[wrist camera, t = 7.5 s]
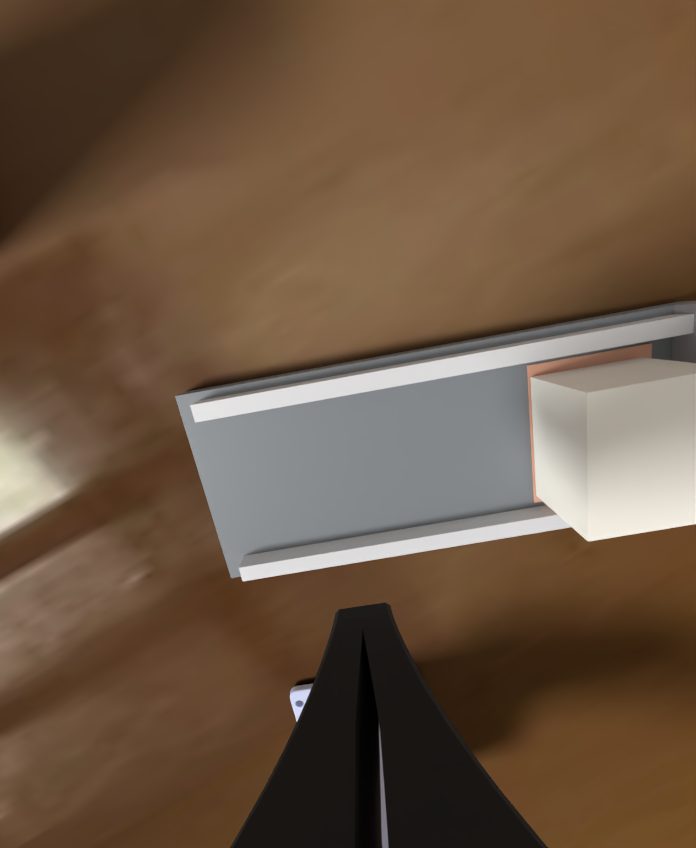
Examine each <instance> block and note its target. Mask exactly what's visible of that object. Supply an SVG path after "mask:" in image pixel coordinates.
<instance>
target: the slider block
mask: <svg viewBox="0 0 696 848" xmlns="http://www.w3.org/2000/svg"><path fill="white" fill-rule="evenodd" d="M530 380H531V400H532V421H533V441H534V461H535V482H536V496H537V497H538V498H539V499H541V500H542V501H543V502H544V503H545V504H546V505H547V506H548V507H550V508H551V509H552V510H553V511H554V512H555V513H556V514H557V515H559V516H560V517H561V518H562V519H563V520H564V521H565V522H567V523H568V524H569V525H570V526H571V527H572V528H573V529H574V530H576V531H577V532H578V533H579V534H580V535H581V536H582V537H584V538H585V539H586V540H587V541H594V540H600V539H606V538H613V537H619V536H625V535H631V534H637V533H643V532H649V531H655V530H662V529H668V528H674V527H680V526H686V525H692V524H696V363H690V362H681V361H671V360H662V359H653V358H644V357H640V358H634V359H629V360H623V361H617V362H612V363H606V364H601V365H595V366H589V367H584V368H578V369H573V370H567V371H562V372H556V373H550V374H545V375H539V376H534V377H530Z"/></svg>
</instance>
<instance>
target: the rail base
mask: <svg viewBox="0 0 696 848" xmlns="http://www.w3.org/2000/svg"><path fill="white" fill-rule="evenodd" d="M640 357H644V358H653V359H662V360H671V361H681V362H690V363H696V300H695V301H680V302H673V303H668V304H662V305H657V306H651V307H646V308H640V309H635V310H629V311H624V312H619V313H613V314H608V315H602V316H597V317H591V318H586V319H580V320H575V321H569V322H564V323H558V324H553V325H547V326H542V327H537V328H531V329H526V330H520V331H515V332H509V333H504V334H498V335H493V336H487V337H482V338H476V339H471V340H465V341H460V342H454V343H449V344H444V345H438V346H433V347H427V348H422V349H416V350H411V351H405V352H400V353H394V354H389V355H383V356H378V357H372V358H367V359H362V360H356V361H351V362H345V363H340V364H334V365H329V366H323V367H318V368H312V369H307V370H301V371H296V372H290V373H285V374H280V375H274V376H269V377H263V378H258V379H252V380H247V381H241V382H236V383H230V384H225V385H219V386H214V387H208V388H203V389H197V390H192V391H187V392H184V393H181V394H179V395H177V396H175V397H176V401H177V404H178V407H179V410H180V414H181V417H182V420H183V423H184V427H185V430H186V433H187V436H188V440H189V443H190V446H191V449H192V453H193V456H194V459H195V462H196V466H197V469H198V472H199V475H200V479H201V482H202V485H203V488H204V492H205V495H206V498H207V501H208V505H209V508H210V511H211V514H212V517H213V521H214V524H215V527H216V530H217V534H218V537H219V540H220V543H221V547H222V550H223V553H224V556H225V560H226V563H227V566H228V569H229V573H230V576H231V578H234V577H240V576H241V577H242V581H248V580H254V579H260V578H266V577H272V576H278V575H284V574H290V573H296V572H302V571H308V570H314V569H321V568H327V567H333V566H339V565H345V564H351V563H357V562H363V561H369V560H375V559H381V558H387V557H393V556H399V555H405V554H411V553H417V552H424V551H430V550H436V549H442V548H448V547H454V546H460V545H466V544H472V543H478V542H484V541H490V540H496V539H502V538H508V537H514V536H520V535H527V534H533V533H539V532H545V531H551V530H557V529H563V528H569V527H571V526H570V525H569V524H568V523H567V522H565V521H564V520H563V519H562V518H561V517H560V516H559V515H557V514H556V513H555V512H554V511H553V510H552V509H551V508H550V507H548V506H547V505H546V504H545V503H544V502H543V501H542V500H541V499H539V498H538V497H537V496H536V482H535V461H534V441H533V421H532V400H531V380H530V377H534V376H539V375H545V374H550V373H556V372H562V371H567V370H573V369H578V368H584V367H589V366H595V365H601V364H606V363H612V362H617V361H623V360H629V359H634V358H640Z"/></svg>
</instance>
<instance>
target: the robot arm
mask: <svg viewBox="0 0 696 848" xmlns="http://www.w3.org/2000/svg"><path fill="white" fill-rule="evenodd" d="M290 700H291V703H292V707H293V710H294V714H295V717H296V721H297V723H296V725H295V728H294V730H293V732H292V734H291V736H290V738H289V740H288V742H287V745H286V747H285V749H284V751H283V753H282V755H281V757H280V759H279V761H278V763H277V765H276V767H275V769H274V770H273V772H272V774H271V776H270V778H269V780H268V782H267V784H266V786H265V788H264V789H263V791H262V793H261V795H260V797H259V798H258V800H257V802H256V804H255V805H254V807H253V809H252V811H251V812H250V814H249V816H248V818H247V820H246V821H245V823H244V825H243V827H242V828H241V830H240V832H239V833H238V835H237V837H236V839H235V840H234V842H233V844H232V845H231V847H230V848H548V847H547V846H546V845H545V844H544V843H543V841H542V840H541V839H540V838H539V837H538V835H537V834H536V833H535V832H534V830H533V829H532V828H531V827H530V826H529V824H528V823H527V822H526V821H525V820H524V818H523V817H522V816H521V815H520V813H519V812H518V811H517V810H516V809H515V807H514V806H513V805H512V804H511V803H510V801H509V800H508V799H507V798H506V796H505V795H504V794H503V793H502V792H501V790H500V789H499V788H498V786H497V785H496V784H495V782H494V781H493V780H492V778H491V777H490V776H489V774H488V773H487V772H486V771H485V769H484V768H483V767H482V765H481V764H480V763H479V761H478V760H477V759H476V757H475V756H474V754H473V753H472V752H471V750H470V749H469V747H468V746H467V745H466V743H465V742H464V740H463V739H462V738H461V736H460V735H459V733H458V732H457V730H456V729H455V728H454V726H453V725H452V723H451V722H450V720H449V719H448V717H447V716H446V714H445V712H444V711H443V709H442V708H441V706H440V705H439V703H438V701H437V700H436V698H435V697H434V695H433V694H432V692H431V690H430V689H429V687H428V685H427V684H426V682H425V680H424V678H423V677H422V675H421V673H420V671H419V669H418V668H417V666H416V664H415V662H414V660H413V659H412V657H411V655H410V653H409V651H408V649H407V647H406V645H405V643H404V641H403V639H402V637H401V634H400V632H399V630H398V628H397V625H396V623H395V620H394V617H393V614H392V611H391V606H390V605H388V604H387V603H380V604H373V605H366V606H360V607H353V608H346V609H339V610H338V612H337V613H336V614H335V619H334V623H333V627H332V631H331V634H330V637H329V641H328V644H327V647H326V650H325V653H324V656H323V659H322V662H321V664H320V667H319V670H318V672H317V675H316V678H315V680H314V683H312V684H306V685H299V686H295V687H293V688H292V689H291V692H290ZM299 700H300V701H299Z"/></svg>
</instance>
